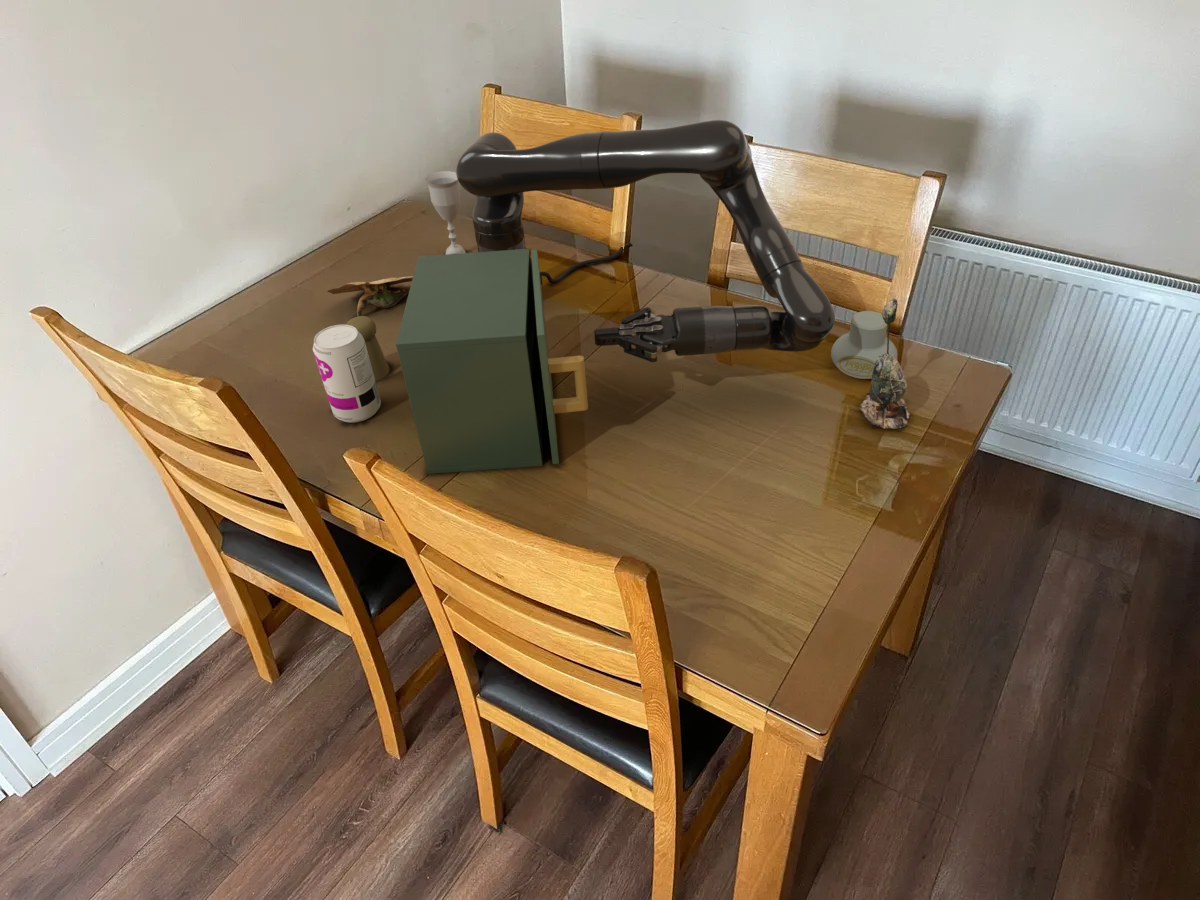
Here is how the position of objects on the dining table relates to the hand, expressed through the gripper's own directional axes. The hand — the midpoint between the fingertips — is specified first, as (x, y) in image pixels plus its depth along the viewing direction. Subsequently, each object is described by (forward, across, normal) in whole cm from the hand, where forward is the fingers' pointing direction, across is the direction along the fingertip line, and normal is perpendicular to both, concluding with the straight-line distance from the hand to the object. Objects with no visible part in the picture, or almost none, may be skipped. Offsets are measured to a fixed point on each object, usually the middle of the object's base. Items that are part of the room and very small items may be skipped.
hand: (594, 337), depth 138 cm
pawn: (+41, +15, -14) cm, 46 cm away
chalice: (+29, +58, -14) cm, 67 cm away
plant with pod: (-46, -8, -14) cm, 48 cm away
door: (+5, -1, -14) cm, 15 cm away
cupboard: (+18, -1, -14) cm, 23 cm away
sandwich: (+44, +40, -14) cm, 61 cm away
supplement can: (+42, +4, -14) cm, 44 cm away
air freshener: (-46, +6, -14) cm, 48 cm away
